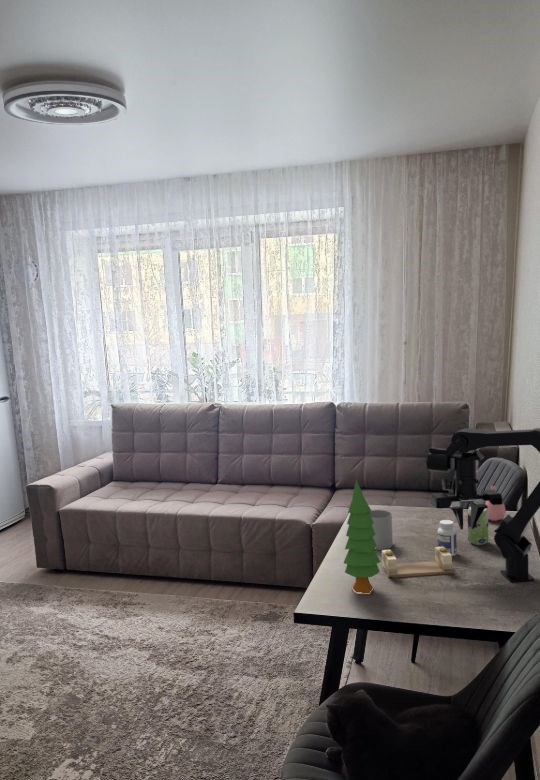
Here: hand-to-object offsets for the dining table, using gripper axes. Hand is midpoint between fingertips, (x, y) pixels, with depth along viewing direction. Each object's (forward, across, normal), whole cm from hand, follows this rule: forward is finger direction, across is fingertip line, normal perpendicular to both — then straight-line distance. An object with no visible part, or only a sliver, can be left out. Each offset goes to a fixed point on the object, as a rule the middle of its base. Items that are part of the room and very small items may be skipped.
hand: (466, 528), depth 159 cm
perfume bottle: (+11, -24, -36) cm, 45 cm away
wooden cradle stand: (+11, +14, 0) cm, 18 cm away
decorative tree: (+11, +32, +9) cm, 35 cm away
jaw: (+10, +7, 0) cm, 12 cm away
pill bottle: (+11, +2, -10) cm, 15 cm away
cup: (+11, +20, -22) cm, 31 cm away
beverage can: (+11, -10, -16) cm, 22 cm away
